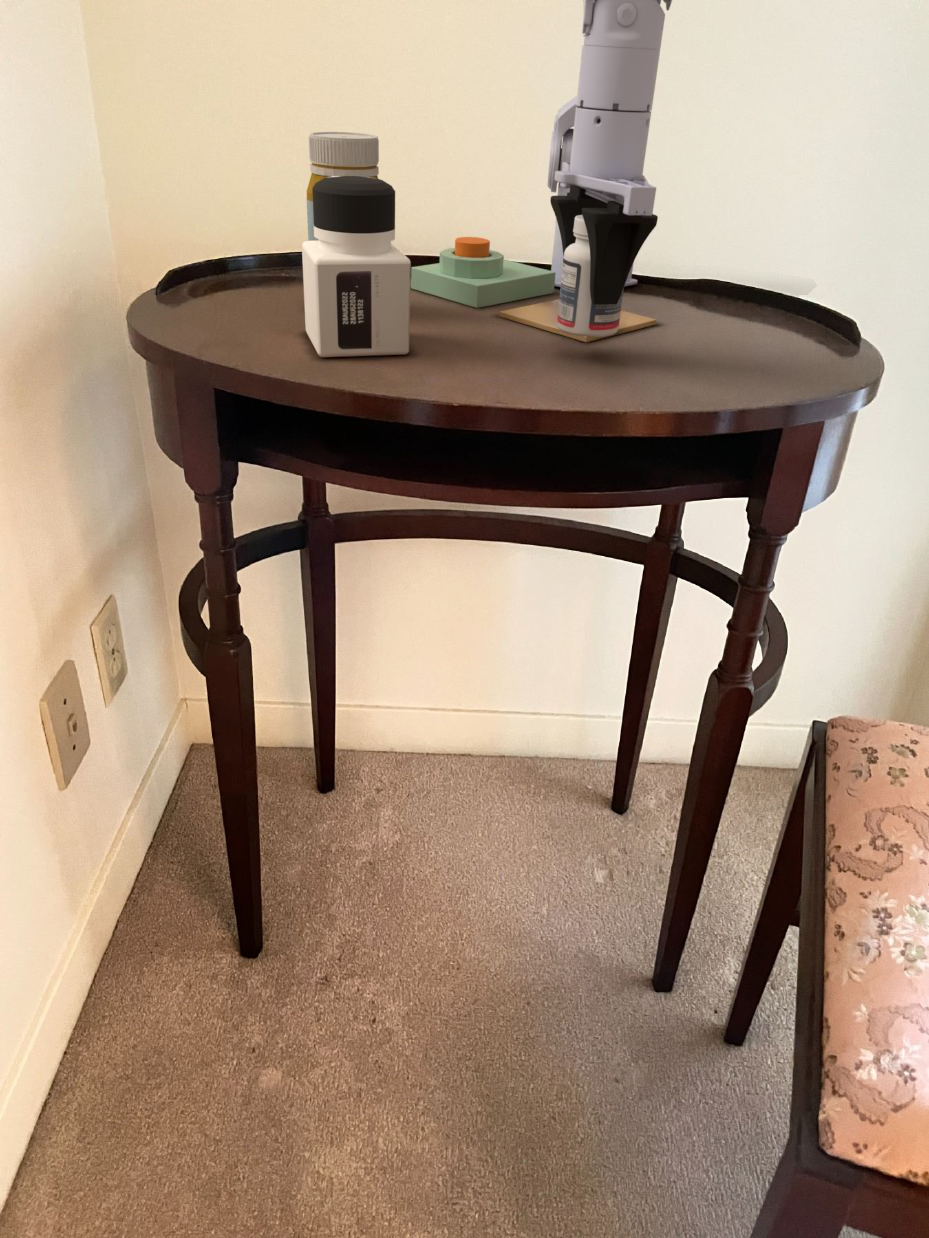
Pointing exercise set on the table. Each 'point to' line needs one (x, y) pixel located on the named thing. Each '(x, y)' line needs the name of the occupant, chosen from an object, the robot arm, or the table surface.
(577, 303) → the pill bottle
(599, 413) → the table surface
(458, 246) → the orange button cap
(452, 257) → the base
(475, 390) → the table surface
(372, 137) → the bottle
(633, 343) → the table surface
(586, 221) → the robot arm
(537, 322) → the coaster
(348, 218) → the container
